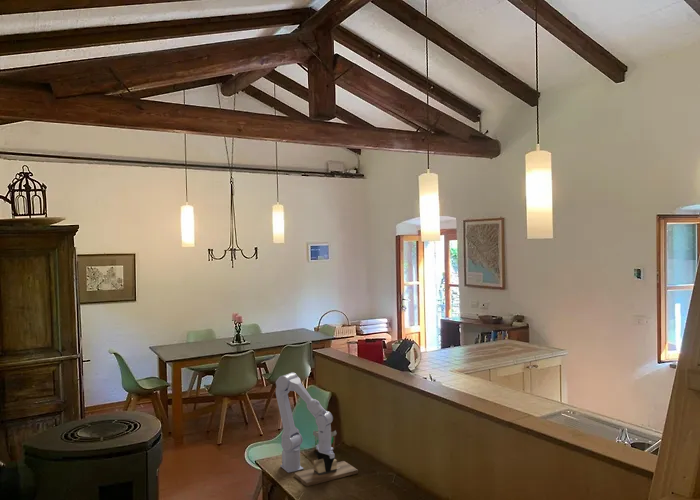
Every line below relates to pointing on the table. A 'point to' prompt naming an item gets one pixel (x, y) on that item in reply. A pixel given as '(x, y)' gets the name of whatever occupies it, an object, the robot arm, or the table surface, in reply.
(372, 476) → the table surface
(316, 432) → the food container
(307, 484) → the walnut board
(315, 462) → the block
